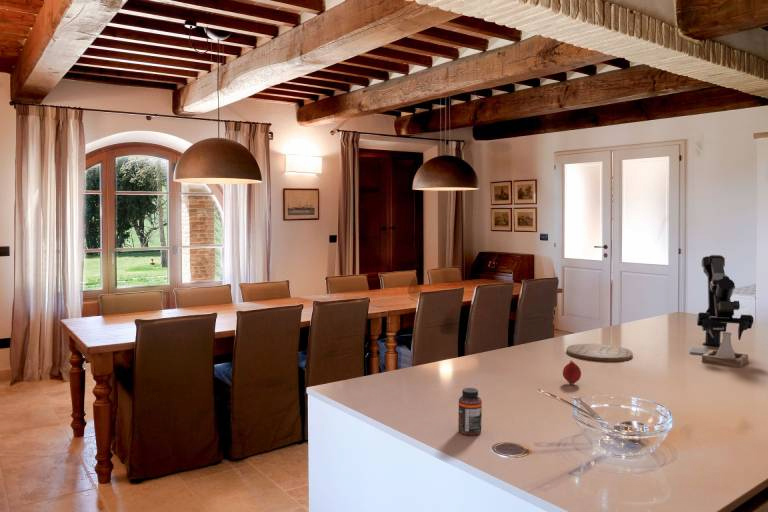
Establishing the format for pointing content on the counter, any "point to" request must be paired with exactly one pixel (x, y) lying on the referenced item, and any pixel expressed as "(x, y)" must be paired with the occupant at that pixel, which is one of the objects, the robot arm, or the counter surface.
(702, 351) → the slate coaster
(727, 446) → the counter surface
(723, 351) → the flask
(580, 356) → the trivet
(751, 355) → the counter surface
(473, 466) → the counter surface
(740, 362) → the tray
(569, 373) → the onion
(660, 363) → the counter surface
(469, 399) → the supplement bottle
